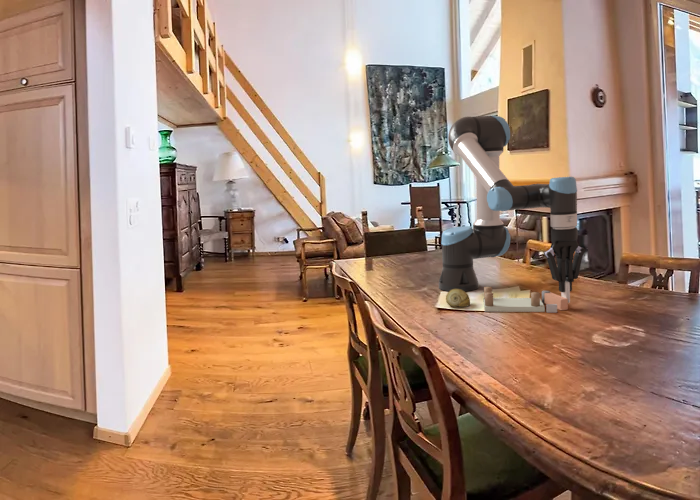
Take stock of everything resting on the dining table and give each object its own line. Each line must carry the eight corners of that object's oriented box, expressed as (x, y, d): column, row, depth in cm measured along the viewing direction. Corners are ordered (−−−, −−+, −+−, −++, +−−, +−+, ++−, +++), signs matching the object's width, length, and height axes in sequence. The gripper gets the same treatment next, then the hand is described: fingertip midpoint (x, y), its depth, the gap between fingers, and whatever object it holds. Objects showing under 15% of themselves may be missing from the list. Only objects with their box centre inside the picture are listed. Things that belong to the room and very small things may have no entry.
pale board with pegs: (484, 312, 154) (484, 295, 153) (483, 302, 165) (483, 286, 165) (557, 312, 149) (557, 294, 148) (550, 302, 160) (550, 286, 159)
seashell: (457, 314, 169) (442, 296, 170) (473, 300, 168) (458, 283, 169) (458, 316, 159) (441, 298, 160) (474, 302, 158) (458, 284, 159)
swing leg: (540, 301, 162) (540, 291, 161) (547, 300, 162) (547, 290, 162) (560, 310, 150) (560, 299, 150) (568, 309, 151) (568, 298, 150)
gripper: (551, 230, 145) (553, 307, 148) (590, 226, 146) (591, 302, 150) (538, 228, 152) (540, 301, 156) (576, 224, 154) (577, 296, 157)
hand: (565, 301), depth 153 cm, fingers closed
